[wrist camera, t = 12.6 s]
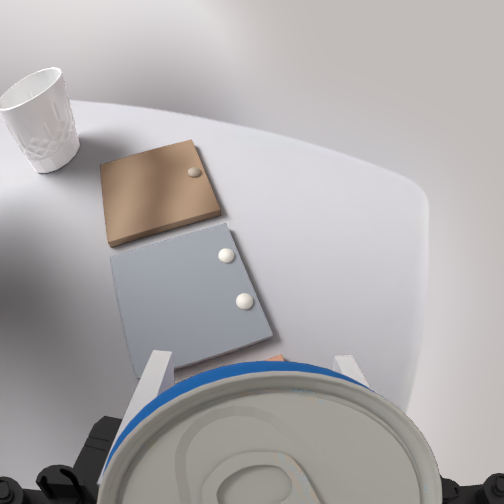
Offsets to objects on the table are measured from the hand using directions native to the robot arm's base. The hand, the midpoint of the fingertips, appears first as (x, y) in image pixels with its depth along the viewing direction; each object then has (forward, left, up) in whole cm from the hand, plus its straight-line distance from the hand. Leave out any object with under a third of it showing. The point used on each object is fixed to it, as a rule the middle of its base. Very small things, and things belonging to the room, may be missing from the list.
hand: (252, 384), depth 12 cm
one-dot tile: (-1, +20, -9) cm, 22 cm away
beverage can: (-1, -3, -4) cm, 6 cm away
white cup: (-12, +31, -10) cm, 35 cm away
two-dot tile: (-1, +8, -9) cm, 13 cm away
